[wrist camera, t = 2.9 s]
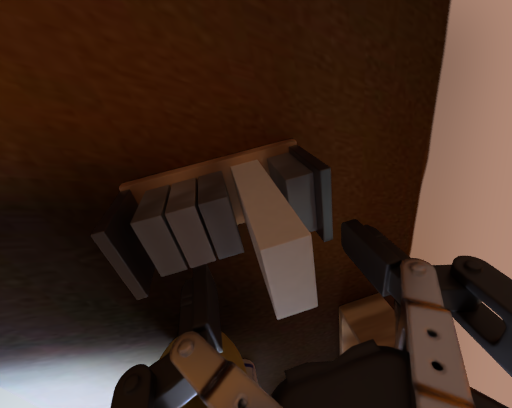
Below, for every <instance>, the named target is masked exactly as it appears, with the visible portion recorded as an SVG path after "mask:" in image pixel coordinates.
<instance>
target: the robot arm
mask: <svg viewBox="0 0 512 408" xmlns="http://www.w3.org/2000/svg"><path fill="white" fill-rule="evenodd" d="M341 242H342V247H343V249H344V251H345V253H346V254H347V255H348V256H349V258H350V259H351V260H352V261H353V262H354V263H355V265H356V266H357V267H358V268H359V269H360V270H361V272H362V273H363V274H364V275H365V276H366V278H367V279H368V280H369V281H370V282H371V283H372V285H373V286H374V287H375V288H376V289H377V291H378V292H379V293H380V294H381V295H382V296H383V297H385V296H388V295H392V296H393V297H394V316H395V348H393V347H389V346H378V345H377V344H376V342H375V341H374V339H371V340H368V341H365V342H362V343H360V344H357V345H354V346H352V347H350V348H349V349H348V350H347V351H345V352H344V353H343V354H341V355H340V356H339V357H338V358H336V359H335V360H334V361H329V362H310V363H305V364H302V365H299V366H296V367H294V368H291V369H288V370H285V375H286V379H284V380H283V381H282V382H281V383H280V384H279V385H278V386H277V387H276V389H275V390H274V391H273V393H272V395H271V396H270V395H269V394H268V393H267V392H266V391H264V390H263V389H262V388H261V387H260V386H259V385H258V384H257V383H256V382H255V381H254V380H252V379H251V378H250V377H249V376H248V375H247V374H246V373H245V372H244V371H243V370H242V369H240V368H239V367H238V366H237V365H236V364H235V363H234V362H232V361H228V360H226V359H225V358H224V357H223V356H222V355H221V354H220V353H222V352H223V346H222V335H221V325H220V314H219V303H218V293H217V288H216V284H215V282H214V279H213V277H212V274H211V272H210V270H209V267H208V265H207V264H205V265H202V266H199V267H196V268H193V279H190V280H186V281H185V283H184V285H183V287H182V289H181V303H180V306H181V307H180V316H179V329H178V337H177V339H176V340H175V342H174V343H173V345H172V347H171V350H170V351H169V353H167V354H166V355H165V356H164V357H163V358H161V359H160V360H158V361H157V362H155V363H154V364H152V365H151V366H149V367H148V366H146V365H144V364H139V365H135V366H133V367H132V368H130V369H129V370H127V371H126V372H125V373H124V374H123V375H122V377H121V378H120V379H119V381H118V383H117V385H116V387H115V390H114V394H113V399H112V403H111V408H181V407H182V406H183V405H184V404H186V403H187V402H188V401H189V400H191V399H192V398H193V397H194V396H196V395H198V397H199V398H200V399H201V400H202V401H203V403H204V404H205V405H206V406H207V407H208V408H508V407H506V406H505V405H503V404H501V403H499V402H497V401H496V400H494V399H492V398H490V397H488V396H486V395H484V394H483V393H481V392H479V391H477V390H475V389H473V388H472V387H470V386H469V382H468V378H467V374H466V370H465V366H464V362H463V358H462V354H461V351H460V346H459V342H458V338H457V334H456V330H455V326H454V322H453V318H454V319H455V320H456V321H457V322H458V323H459V324H460V325H461V326H462V327H463V328H464V329H465V330H466V331H467V332H468V333H469V334H470V335H471V336H472V337H473V338H474V339H475V340H476V341H477V342H478V343H479V344H480V345H481V346H482V347H483V348H484V349H485V350H486V351H487V352H488V353H489V354H490V355H491V356H492V357H493V358H494V360H496V362H497V363H498V364H499V365H500V366H501V367H502V368H503V369H504V370H505V371H506V372H507V373H508V374H509V375H510V376H511V377H512V280H511V279H510V278H509V277H507V276H506V275H504V274H503V273H501V272H500V271H499V270H497V269H496V268H494V267H493V266H491V265H490V264H488V263H487V262H485V261H483V260H481V259H479V258H476V257H471V256H458V257H457V258H455V259H454V260H453V263H452V265H431V264H430V263H428V262H426V261H424V260H421V259H417V258H410V257H409V256H408V255H407V254H405V253H404V252H403V251H402V250H401V249H400V248H398V247H397V246H396V245H395V244H394V243H392V242H391V241H390V240H388V238H386V237H385V236H383V234H382V233H381V232H379V231H378V230H377V229H376V228H373V227H371V226H369V225H364V226H363V225H362V224H361V223H360V222H359V221H358V220H356V219H353V220H350V221H346V222H343V223H342V225H341ZM482 302H484V303H485V304H486V305H487V306H488V307H490V308H491V309H492V310H493V311H494V312H495V313H497V314H498V315H499V316H500V317H501V318H502V319H503V320H502V319H500V318H499V317H498V316H497V315H496V314H495V313H494V312H492V311H491V310H490V309H489V308H488V307H486V306H485V305H484V304H483V303H482ZM452 317H453V318H452Z"/></svg>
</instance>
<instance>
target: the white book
mask: <svg viewBox="0 0 512 408" xmlns="http://www.w3.org/2000/svg"><path fill="white" fill-rule="evenodd" d="M230 168H231V171H232V175H233V179H234V182H235V186H236V190H237V193H238V197H239V201H240V204H241V208H242V212H243V215H244V219H245V222H246V225H247V228H248V231H249V234H250V237H251V240H252V243H253V246H254V250H255V253H256V256H257V259H258V262H259V265H260V268H261V271H262V274H263V277H264V280H265V284H266V287H267V290H268V293H269V296H270V299H271V302H272V305H273V308H274V311H275V314H276V318H277V320H279V319H282V318H285V317H288V316H291V315H294V314H297V313H300V312H303V311H306V310H309V309H312V308H315V307H318V300H317V290H316V279H315V269H314V258H313V247H312V237H311V234H310V232H309V231H308V229H307V228H306V227H305V225H304V224H303V222H302V221H301V220H300V218H299V217H298V215H297V214H296V213H295V211H294V210H293V209H292V207H291V206H290V204H289V203H288V202H287V200H286V199H285V197H284V196H283V195H282V193H281V192H280V190H279V189H278V188H277V186H276V185H275V183H274V182H273V181H272V179H271V178H270V176H269V175H268V174H267V172H266V171H265V169H264V168H263V167H262V165H261V164H260V162H259V161H258V160H254V161H250V162H246V163H242V164H239V165H235V166H231V167H230Z"/></svg>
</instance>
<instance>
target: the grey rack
mask: <svg viewBox="0 0 512 408" xmlns="http://www.w3.org/2000/svg"><path fill="white" fill-rule="evenodd" d="M254 160H258V161H259V162H260V164H261V165H262V167H263V168H264V169H265V171H266V172H267V174H268V175H269V176H270V178H271V179H272V181H273V182H274V183H275V185H276V186H277V188H278V189H279V190H280V192H281V193H282V195H283V196H284V197H285V199H286V200H287V202H288V203H289V204H290V206H291V207H292V209H293V210H294V211H295V213H296V214H297V215H298V217H299V218H300V220H301V221H302V222H303V224H304V225H305V227H306V228H307V229H308V231H309V232H312V231H316V232H317V233H318V235H319V236H320V237H321V239H322V240H323V241H324V242H326V241H329V240H332V239H333V220H332V189H331V168H330V167H329V166H328V165H326V164H325V163H323V162H322V161H320V160H319V159H317V158H316V157H314V156H313V155H311V154H310V153H308V152H307V151H306V150H304V149H303V148H301V147H300V146H298V145H297V143H296V140H294V139H293V138H291V139H288V140H284V141H280V142H276V143H272V144H269V145H265V146H261V147H257V148H253V149H250V150H246V151H242V152H238V153H235V154H231V155H227V156H223V157H219V158H216V159H212V160H208V161H204V162H201V163H197V164H193V165H189V166H185V167H182V168H178V169H174V170H170V171H166V172H163V173H159V174H155V175H151V176H148V177H144V178H140V179H136V180H132V181H129V182H125V183H122V184H121V185H120V187H119V190H120V193H119V194H118V196H117V197H116V199H115V200H114V201H113V203H112V204H111V206H110V207H109V209H108V210H107V212H106V213H105V214H104V216H103V217H102V219H101V220H100V222H99V223H98V225H97V226H96V227H95V229H94V230H93V232H92V233H91V237H92V238H93V240H94V241H95V243H96V244H97V245H98V247H99V248H100V249H101V251H102V252H103V254H104V255H105V256H106V258H107V259H108V261H109V262H110V263H111V265H112V266H113V267H114V269H115V270H116V272H117V273H118V274H119V276H120V277H121V278H122V280H123V281H124V283H125V284H126V285H127V287H128V288H129V289H130V291H131V292H132V294H133V295H134V296H135V298H136V299H137V300H139V299H142V298H145V297H148V294H149V289H150V285H151V281H152V276H153V272H154V268H155V267H156V269H157V270H158V272H159V274H160V275H161V277H164V276H167V275H170V274H173V273H177V272H180V271H183V270H187V269H188V264H189V266H190V268H193V267H196V266H200V265H203V264H206V263H209V262H213V261H216V253H217V256H218V258H219V259H223V258H226V257H229V256H233V255H236V254H239V253H243V252H244V249H243V245H242V241H241V237H240V234H239V230H238V226H237V225H238V224H241V223H245V219H244V215H243V212H242V208H241V204H240V201H239V197H238V193H237V190H236V186H235V182H234V179H233V175H232V171H231V168H230V167H231V166H235V165H239V164H242V163H246V162H250V161H254ZM215 251H216V253H215Z"/></svg>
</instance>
